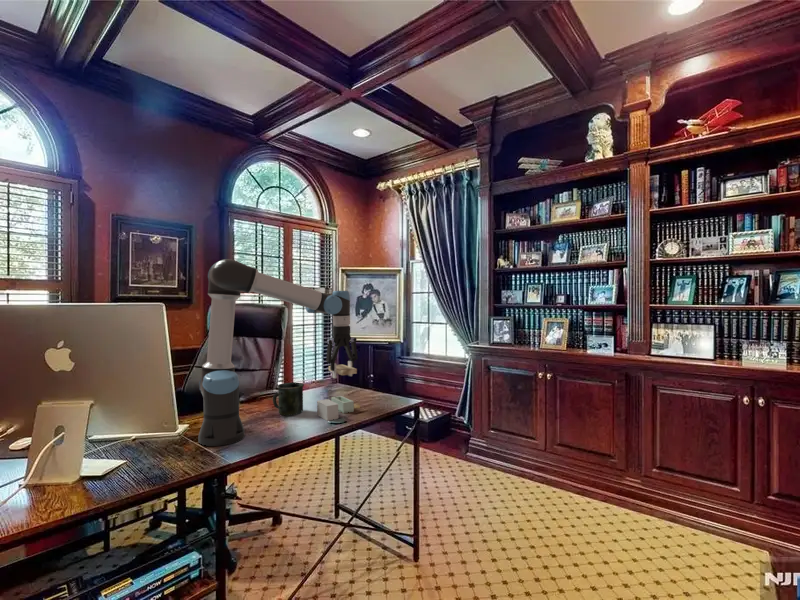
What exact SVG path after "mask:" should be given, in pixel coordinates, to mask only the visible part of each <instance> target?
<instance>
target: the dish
mask: <svg viewBox="0 0 800 600" xmlns="http://www.w3.org/2000/svg"><path fill="white" fill-rule="evenodd" d="M331 401H333V402H335V403H337V404H338V412H339V413H341V412H342V414H347V413H348V412H349V413H354V410H355V407H354V403H355V402H354V400H352V399H349V398H347V397H345V396H342V395H337V396H332V397H331Z"/></svg>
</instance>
